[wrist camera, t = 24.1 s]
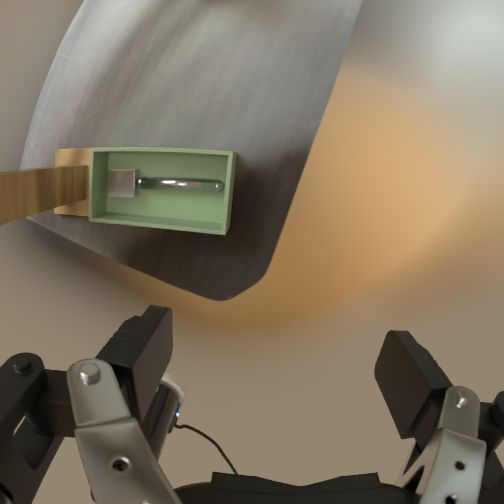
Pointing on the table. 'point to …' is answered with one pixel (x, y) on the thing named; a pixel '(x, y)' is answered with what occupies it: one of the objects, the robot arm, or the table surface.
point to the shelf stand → (47, 187)
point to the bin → (164, 201)
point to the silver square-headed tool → (155, 183)
